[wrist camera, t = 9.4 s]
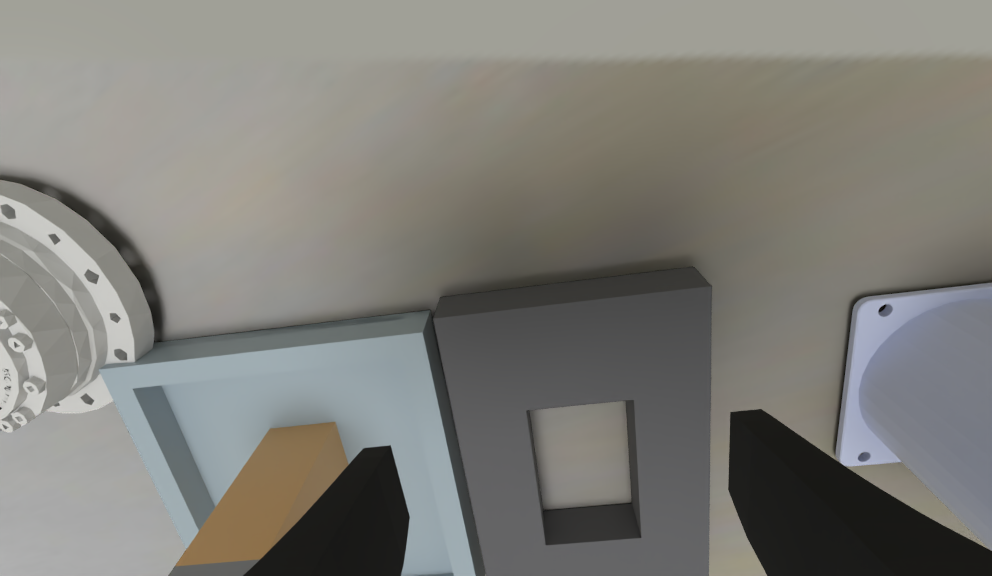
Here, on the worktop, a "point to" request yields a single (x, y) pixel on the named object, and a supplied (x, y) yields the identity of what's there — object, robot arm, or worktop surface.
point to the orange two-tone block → (265, 499)
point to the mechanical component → (61, 309)
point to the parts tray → (304, 419)
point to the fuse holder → (579, 381)
